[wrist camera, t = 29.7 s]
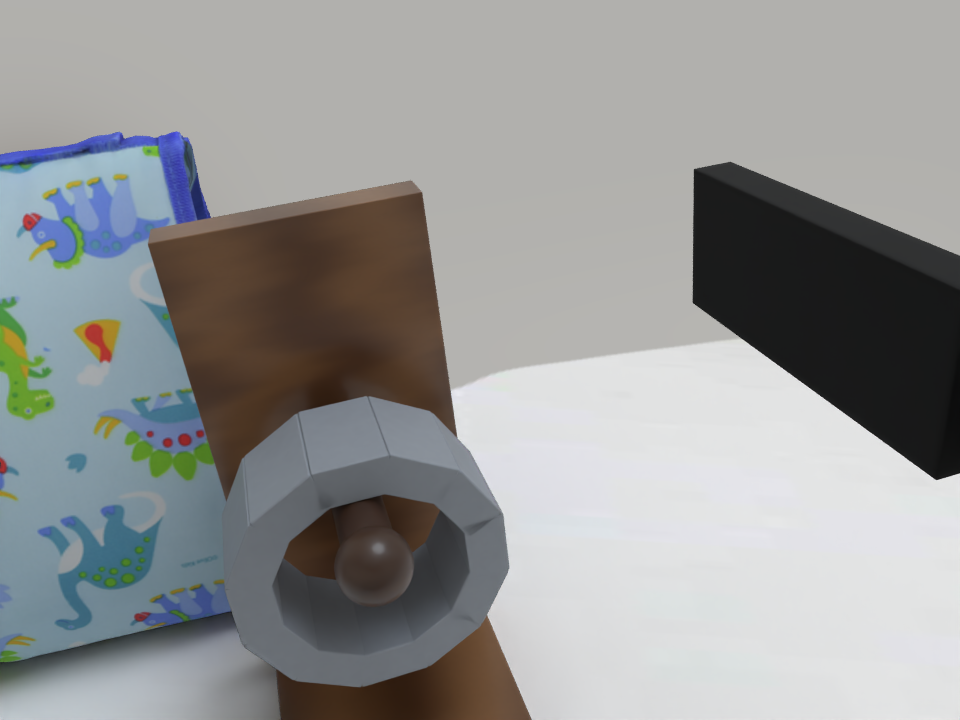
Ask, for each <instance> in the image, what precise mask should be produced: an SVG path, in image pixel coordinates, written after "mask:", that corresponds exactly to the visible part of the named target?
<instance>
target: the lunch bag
mask: <svg viewBox="0 0 960 720" xmlns="http://www.w3.org/2000/svg"><path fill="white" fill-rule="evenodd" d="M208 218H211V217H210V213H209V212H208V210H207V206H206V202H205V201H204V197H203V194H202V192H201V188H200V184H199V179H198V173H197V168H196V164H195V159H194V154H193V149H192V146H191V144H190V142H189V139H188V138H183V136H181V134H180V133H179V132H173V133H169V134H167V135H163V136H159V137H158V138H153V137H150V136H133V137H130V138H126V139H124V138H123V135H122V133H120V132H116V133H113V134H109V135H100V136H95V137H91V138H89V139H87V140H84V141H82V142H79V143H77V144H72V145H68V146H62V147H52V148H46V149H39V150H28V151H18V152H11V153H6V154H1V155H0V462H1V466H0V662H14V661H20V660H25V659H28V658H31V657H35V656H38V655H43V654H48V653H52V652H57V651H61V650H66V649H70V648H74V647H78V646H82V645H86V644H90V643H94V642H98V641H101V640H105V639H110V638H114V637H119V636H123V635H128V634H132V633H136V632H140V631H145V630H149V629H154V628H158V627H163V626H167V625H172V624H176V623H181V622H185V621H190V620H194V619H199V618H204V617H208V616H213V615H217V614H222V613H226V612H231V608H230V605H229V602H228V599H227V596H226V593H225V586H224V560H223V534H222V513H223V510H224V507H225V505H226V499H225V496H224V493H223V489H222V486H221V483H220V480H219V476H218V473H217V470H216V466H215V463H214V460H213V457H212V453H211V450H210V447H209V444H208V440H207V437H206V434H205V430H204V427H203V424H202V421H201V417H200V414H199V411H198V408H197V404H196V401H195V398H194V395H193V391H192V388H191V385H190V381H189V378H188V375H187V372H186V368H185V365H184V362H183V359H182V355H181V352H180V349H179V345H178V342H177V339H176V336H175V332H174V329H173V326H172V323H171V319H170V316H169V313H168V309H167V306H166V303H165V300H164V296H163V293H162V290H161V287H160V283H159V280H158V277H157V274H156V270H155V267H154V264H153V260H152V257H151V254H150V251H149V247H148V240H149V234H150V229H154V228H159V227H165V226H170V225H175V224H181V223H186V222H191V221H197V220H202V219H208Z"/></svg>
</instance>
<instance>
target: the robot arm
mask: <svg viewBox="0 0 960 720" xmlns="http://www.w3.org/2000/svg"><path fill="white" fill-rule="evenodd" d="M693 303H694V304H695V305H696V306H698V307H699V308H701V309H702V310H703V311H705V312H706V313H707V314H709V315H710V316H711V317H713V318H714V319H716V320H717V321H718V322H720V323H721V324H723V325H724V326H725V327H727V328H728V329H729V330H731V331H732V332H734V333H735V334H736V335H738V336H739V337H740V338H742V339H743V340H744V341H746V342H747V343H749V344H750V345H751V346H753V347H754V348H755V349H757V350H758V351H760V352H761V353H762V354H764V355H765V356H766V357H768V358H769V359H771V360H772V361H773V362H775V363H776V364H777V365H779V366H780V367H782V368H783V369H784V370H786V371H787V372H788V373H790V374H791V375H793V376H794V377H795V378H797V379H798V380H799V381H801V382H802V383H804V384H805V385H806V386H808V387H809V388H810V389H812V390H813V391H814V392H816V393H817V394H819V395H820V396H821V397H823V398H824V399H825V400H827V401H828V402H830V403H831V404H832V405H834V406H835V407H836V408H838V409H839V410H841V411H842V412H843V413H845V414H846V415H847V416H849V417H850V418H852V419H853V420H854V421H856V422H857V423H858V424H860V425H861V426H863V427H864V428H865V429H867V430H868V431H869V432H871V433H872V434H874V435H875V436H876V437H878V438H879V439H880V440H882V441H883V442H885V443H886V444H887V445H889V446H890V447H891V448H893V449H894V450H896V451H897V452H898V453H900V454H901V455H902V456H904V457H905V458H907V459H908V460H909V461H911V462H912V463H913V464H915V465H916V466H918V467H919V468H920V469H922V470H923V471H924V472H926V473H927V474H929V475H930V476H931V477H933V478H934V479H935V480H939V479H942V478H946V477H949V476H952V475H956V474H959V473H960V256H959V255H956V254H954V253H952V252H949V251H947V250H944V249H942V248H939V247H937V246H934V245H932V244H930V243H927V242H925V241H922V240H920V239H917V238H915V237H912V236H910V235H907V234H905V233H903V232H900V231H898V230H895V229H893V228H891V227H888V226H886V225H883V224H880V223H878V222H876V221H873V220H871V219H868V218H866V217H864V216H861V215H859V214H856V213H854V212H851V211H849V210H847V209H844V208H841V207H839V206H837V205H834V204H832V203H829V202H827V201H824V200H822V199H820V198H817V197H815V196H812V195H810V194H808V193H805V192H803V191H800V190H798V189H795V188H793V187H790V186H788V185H786V184H783V183H780V182H778V181H775V180H773V179H771V178H768V177H766V176H764V175H761V174H759V173H756V172H754V171H751V170H749V169H746V168H744V167H742V166H739V165H737V164H734V163H732V162H728V163H723V164H717V165H712V166H707V167H702V168H697V169H694V216H693ZM0 466H1V462H0Z"/></svg>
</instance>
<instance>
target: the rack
mask: <svg viewBox="0 0 960 720" xmlns="http://www.w3.org/2000/svg"><path fill="white" fill-rule="evenodd" d="M148 247H149V251H150V254H151V257H152V260H153V264H154V267H155V270H156V274H157V277H158V280H159V283H160V287H161V290H162V293H163V296H164V300H165V303H166V306H167V309H168V313H169V316H170V319H171V323H172V326H173V329H174V332H175V336H176V339H177V342H178V345H179V349H180V352H181V355H182V359H183V362H184V365H185V368H186V372H187V375H188V378H189V381H190V385H191V388H192V391H193V395H194V398H195V401H196V404H197V408H198V411H199V414H200V417H201V421H202V424H203V427H204V430H205V434H206V437H207V440H208V444H209V447H210V450H211V453H212V457H213V460H214V463H215V466H216V470H217V473H218V476H219V480H220V483H221V486H222V489H223V493H224V496H225V499H226V502H227V499H228V496H229V493H230V491H231V488H232V485H233V482H234V480H235V477H236V474H237V471H238V468H239V466H240V463H241V460H242V458H244V457H245V455H247V454H248V453H249V452H250V451H251V450H253V449H254V448H255V447H256V446H257V445H259V444H260V443H261V442H262V441H264V440H265V439H266V438H267V437H268V436H270V435H271V434H272V433H273V432H274V431H276V430H277V429H278V428H279V427H280V426H282V425H283V424H284V423H285V422H287V421H288V420H289V419H290V418H291V417H293V416H294V415H295V414H298V412H301V411H305V410H309V409H313V408H318V407H322V406H326V405H330V404H335V403H339V402H343V401H347V400H352V399H356V398H360V397H364V396H367V397H368V396H371V397H375V398H379V399H383V400H387V401H391V402H395V403H399V404H403V405H407V406H411V407H415V408H419V409H423V410H427V411H430V412H431V413H433V414H434V415H435V416H436V417H437V418H438V419H439V420H440V421H441V422H442V423H443V424H444V425H445V426H446V427H447V428H448V429H449V430H450V431H451V432H452V433H453V434H454V435H455V436H456V438H457V432H456V425H455V419H454V412H453V405H452V398H451V391H450V384H449V377H448V370H447V363H446V356H445V349H444V342H443V335H442V328H441V321H440V314H439V307H438V300H437V293H436V286H435V279H434V272H433V265H432V258H431V251H430V244H429V238H428V231H427V223H426V216H425V209H424V203H423V195H422V192H421V190H420V189H419V188H418V187H417V186H416V185H415V184H414V183H413V182H412V181H406V182H401V183H395V184H390V185H384V186H379V187H374V188H368V189H363V190H358V191H352V192H347V193H342V194H336V195H331V196H326V197H320V198H315V199H309V200H304V201H299V202H293V203H288V204H283V205H277V206H272V207H267V208H261V209H256V210H251V211H246V212H240V213H235V214H229V215H224V216H219V217H213V218H208V219H202V220H197V221H191V222H186V223H181V224H175V225H170V226H165V227H159V228H154V229H150V234H149V240H148ZM439 511H440V509H438V508H437V507H436V506H435V505H434V504H432V503H427V502H421V501H416V500H411V499H406V498H401V497H396V496H391V495H386V494H384V495H380V496H376V497H372V498H368V499H365V500H361V501H357V502H353V503H349V504H345V505H341V506H338V507H334V508H330V509H329V510H328V511H326V512H325V513H324V514H323V515H322V516H320V517H319V518H318V519H317V520H315V521H314V522H313V523H312V524H311V525H309V526H308V527H307V528H306V529H304V530H303V531H302V532H301V533H299V534H298V535H297V536H296V537H295V538H293V539H292V540H291V541H290V542H289V544H288V547H287V549H286V552H285V555H284V557H283V558H284V559H285V560H286V561H288V562H289V563H290V564H291V565H293V566H294V567H295V568H297V569H298V570H299V571H300V572H302V573H303V574H304V575H306V576H313V577H319V578H326V579H333V580H336V581H337V584H338V586H339V587H340V589H341V591H342V592H343V593H344V594H345V596H347V597H348V598H349V599H350V600H351V601H353V602H355V603H357V604H359V605H362V606H366V607H380V606H384V605H387V604H389V603H392V602H393V601H395V600H396V599H398V598H399V597H400V596H401V595H402V594H403V593H404V592H405V591H406V589H407V588H408V586H409V584H410V582H411V580H412V577H413V572H414V558H413V554H412V553H413V552H414V551H415V550H416V549H418V548H419V547H420V546H421V545H422V544H424V543H425V542H426V540H427V538H428V536H429V533H430V531H431V529H432V527H433V525H434V522H435V520H436V518H437V516H438V514H439ZM276 676H277V686H278V695H279V705H280V715H281V720H532V719H531V717H530V715H529V712H528V710H527V708H526V705H525V703H524V701H523V698H522V696H521V694H520V691H519V689H518V687H517V684H516V682H515V680H514V677H513V675H512V673H511V670H510V668H509V666H508V663H507V661H506V659H505V656H504V654H503V652H502V649H501V647H500V645H499V642H498V640H497V638H496V635H495V633H494V630H493V628H492V626H491V623H490V621H489V619H488V616H487V615H486V617H485V619H484V621H483V623H482V624H481V626H480V627H479V628H478V629H476V630H475V631H474V632H473V633H471V634H470V635H469V636H468V637H466V638H465V639H464V640H463V641H461V642H460V643H459V644H457V645H456V646H455V647H454V648H452V649H451V650H450V651H449V652H447V653H446V654H445V655H444V656H442V657H441V658H440V659H439V660H437V661H436V662H435V663H434V664H432V665H431V666H428V667H427V668H423V669H420V670H417V671H414V672H410V673H407V674H404V675H401V676H397V677H394V678H391V679H387V680H384V681H381V682H378V683H374V684H371V685H368V686H365V687H363V686H361V687H351V686H341V685H331V684H320V683H310V682H300V681H295V680H292V679H290V678H289V677H287V676H286V675H285V674H283V673H282V672H280V671H279V670H277V669H276Z"/></svg>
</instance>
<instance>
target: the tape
mask: <svg viewBox="0 0 960 720" xmlns="http://www.w3.org/2000/svg"><path fill="white" fill-rule="evenodd" d="M384 494H386V495H391V496H396V497H401V498H406V499H411V500H416V501H421V502H427V503H432V504H434V505H435V506H436V507H437V508H438V509H440V511H439V514H438V516H437V518H436V520H435V522H434V525H433V527H432V529H431V531H430V533H429V536H428V538H427V540H426V542H425V543H424V544H422V545H421V546H420V547H419V548H418V549H416V550H415V551H414V552H413V553H412V554H413V558H414V572H413V577H412V580H411V582H410V584H409V586H408V588H407V589H406V591H405V592H404V593H403V594H402V595H401V596H400V597H399V598H398V599H396V600H395V601H393V602H392V603H389V604H387V605H384V606H380V607H366V606H362V605H359V604H357V603H355V602H353V601H351V600H350V599H349V598H348V597H347V596H345V594H344V593H343V592H342V591H341V589H340V587H339V586H338V584H337V581H336V580H333V579H326V578H319V577H313V576H306V575H304V574H303V573H302V572H300V571H299V570H298V569H297V568H295V567H294V566H293V565H291V564H290V563H289V562H288V561H286V560H285V559H284V558H283V557H284V555H285V552H286V549H287V547H288V544H289V542H290V541H291V540H292V539H293V538H295V537H296V536H297V535H298V534H299V533H301V532H302V531H303V530H304V529H306V528H307V527H308V526H309V525H311V524H312V523H313V522H314V521H315V520H317V519H318V518H319V517H320V516H322V515H323V514H324V513H325V512H326V511H328V510H329V509H330V508H334V507H338V506H341V505H345V504H349V503H353V502H357V501H361V500H365V499H368V498H372V497H376V496H380V495H384ZM222 534H223V560H224V586H225V593H226V596H227V599H228V602H229V605H230V608H231V612H232V615H233V618H234V621H235V624H236V627H237V630H238V633H239V636H240V639H241V642H242V644H243V645H244V647H245V648H246V649H248V650H249V651H251V652H252V653H254V654H255V655H257V656H258V657H260V658H261V659H263V660H264V661H265V662H267V663H268V664H270V665H271V666H273V667H274V668H276V669H277V670H279V671H280V672H282V673H283V674H285V675H286V676H287V677H289V678H290V679H292V680H295V681H300V682H310V683H320V684H331V685H341V686H351V687H361V686H363V687H365V686H368V685H371V684H374V683H378V682H381V681H384V680H387V679H391V678H394V677H397V676H401V675H404V674H407V673H410V672H414V671H417V670H420V669H423V668H427V667H428V666H431V665H432V664H434V663H435V662H436V661H437V660H439V659H440V658H441V657H442V656H444V655H445V654H446V653H447V652H449V651H450V650H451V649H452V648H454V647H455V646H456V645H457V644H459V643H460V642H461V641H463V640H464V639H465V638H466V637H468V636H469V635H470V634H471V633H473V632H474V631H475V630H476V629H478V628H479V627H480V626H481V624H482V623H483V621H484V619H485V617H486V615H487V613H488V611H489V609H490V607H491V605H492V603H493V601H494V599H495V597H496V595H497V593H498V591H499V589H500V587H501V585H502V583H503V581H504V579H505V577H506V575H507V573H508V569H509V560H508V552H507V543H506V534H505V526H504V517H503V513H502V511H501V509H500V507H499V505H498V504H497V502H496V500H495V498H494V496H493V494H492V492H491V490H490V488H489V487H488V485H487V483H486V481H485V479H484V477H483V475H482V473H481V472H480V470H479V468H478V466H477V464H476V462H475V460H474V458H473V457H472V455H471V453H470V451H469V450H468V449H467V448H466V447H465V446H464V445H463V444H462V443H461V442H460V441H459V440H458V439H457V438H456V436H455V435H454V434H453V433H452V432H451V431H450V430H449V429H448V428H447V427H446V426H445V425H444V424H443V423H442V422H441V421H440V420H439V419H438V418H437V417H436V416H435V415H434V414H433V413H431V412H430V411H427V410H423V409H419V408H415V407H411V406H407V405H403V404H399V403H395V402H391V401H387V400H383V399H379V398H375V397H371V396H368V397H367V396H364V397H360V398H356V399H352V400H347V401H343V402H339V403H335V404H330V405H326V406H322V407H318V408H313V409H309V410H305V411H301V412H298V414H295V415H294V416H293V417H291V418H290V419H289V420H288V421H287V422H285V423H284V424H283V425H282V426H280V427H279V428H278V429H277V430H276V431H274V432H273V433H272V434H271V435H270V436H268V437H267V438H266V439H265V440H264V441H262V442H261V443H260V444H259V445H257V446H256V447H255V448H254V449H253V450H251V451H250V452H249V453H248V454H247V455H245V457H244V458H242V460H241V463H240V466H239V468H238V471H237V474H236V477H235V480H234V482H233V485H232V488H231V491H230V493H229V496H228V499H227V502H226V505H225V507H224V510H223V513H222Z"/></svg>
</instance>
